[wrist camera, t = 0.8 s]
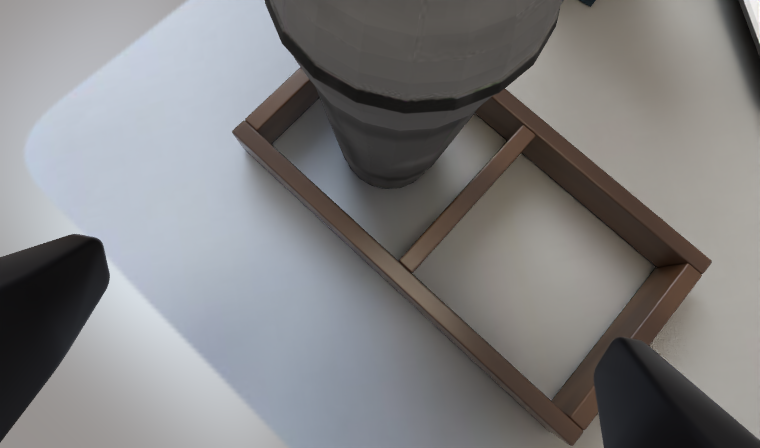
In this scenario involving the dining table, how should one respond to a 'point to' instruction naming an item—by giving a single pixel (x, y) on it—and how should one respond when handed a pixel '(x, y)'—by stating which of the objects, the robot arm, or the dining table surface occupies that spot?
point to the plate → (752, 19)
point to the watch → (588, 2)
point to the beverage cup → (408, 70)
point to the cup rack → (525, 135)
